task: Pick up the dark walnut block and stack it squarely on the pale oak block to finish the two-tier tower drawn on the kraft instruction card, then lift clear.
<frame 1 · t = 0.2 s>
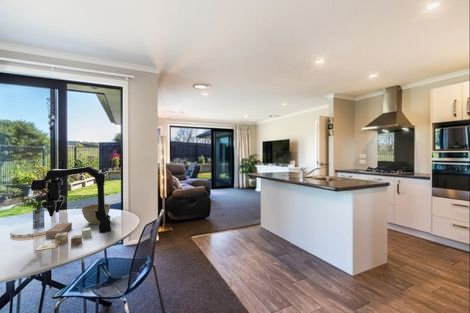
hand: (54, 214, 140), 14 cm above the table, fingers open, 9 cm apart
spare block: (86, 236, 143), on the table
instruction card: (47, 246, 127), on the table
tan bowl: (96, 222, 170), on the table
brown rock: (59, 233, 148), on the table
oak block: (61, 241, 135), on the table
walnut block: (76, 244, 131), on the table
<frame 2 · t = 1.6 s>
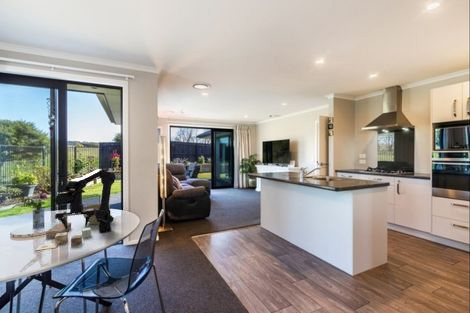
hand: (76, 228, 131), 9 cm above the table, fingers open, 9 cm apart
nothing on the table moved.
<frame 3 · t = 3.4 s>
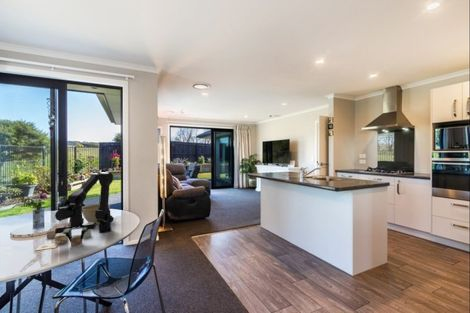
hand: (76, 242, 131), 1 cm above the table, fingers closed on walnut block, 4 cm apart
walnut block: (76, 244, 131), on the table, touching gripper
everything else where it was.
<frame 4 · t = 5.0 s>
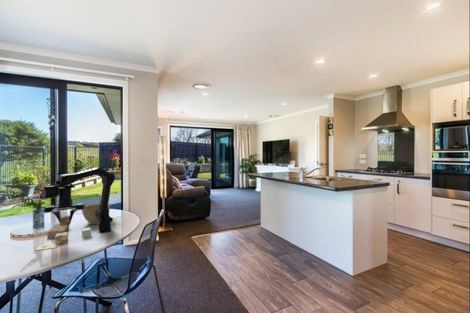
hand: (65, 222, 133), 12 cm above the table, fingers closed on walnut block, 4 cm apart
walnut block: (65, 224, 133), point 11 cm above the table, touching gripper
everything else where it was.
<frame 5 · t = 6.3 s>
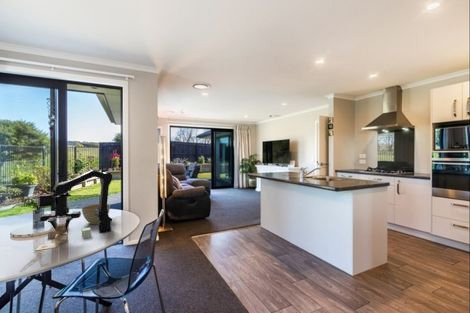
hand: (61, 230, 135), 7 cm above the table, fingers closed on walnut block, 4 cm apart
walnut block: (61, 232, 135), point 5 cm above the table, touching gripper
everything else where it was.
when the fingers open (7 cm above the table, at t = 7.0 s): walnut block stays where it is, resting on oak block.
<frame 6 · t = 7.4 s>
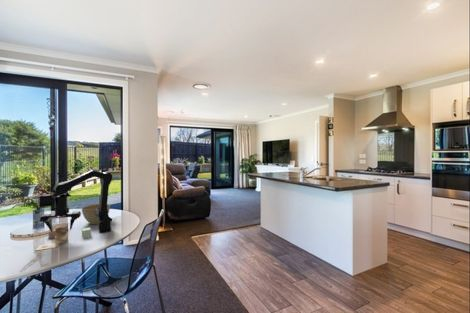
hand: (61, 230, 135), 7 cm above the table, fingers open, 9 cm apart
oak block: (61, 241, 135), on the table, touching walnut block
walnut block: (61, 234, 135), point 4 cm above the table, touching oak block
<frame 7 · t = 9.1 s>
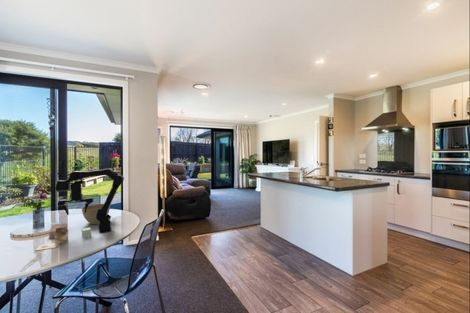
hand: (76, 214, 147), 13 cm above the table, fingers open, 9 cm apart
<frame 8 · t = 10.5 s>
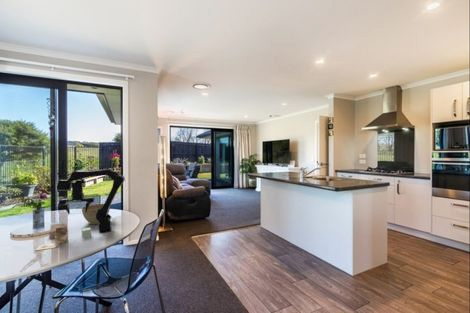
hand: (77, 213, 148), 13 cm above the table, fingers open, 9 cm apart
at the end: walnut block point 4.4 cm above the table; walnut block 0.1 cm from the oak block (horizontally); walnut block tilted 0° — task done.
